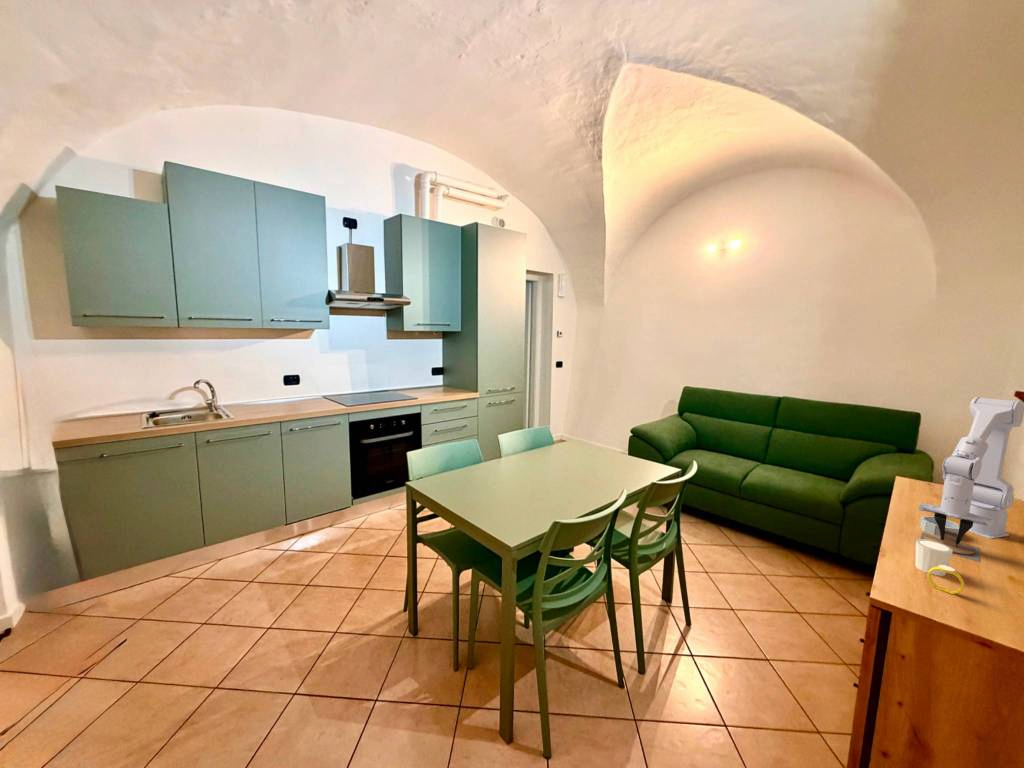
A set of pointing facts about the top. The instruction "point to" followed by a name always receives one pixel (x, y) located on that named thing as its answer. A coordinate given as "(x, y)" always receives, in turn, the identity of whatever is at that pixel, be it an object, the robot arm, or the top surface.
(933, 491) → the top surface
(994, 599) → the top surface
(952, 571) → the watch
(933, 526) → the grey curved piece
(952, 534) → the walnut lid
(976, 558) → the rubber mat
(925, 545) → the white cylinder
